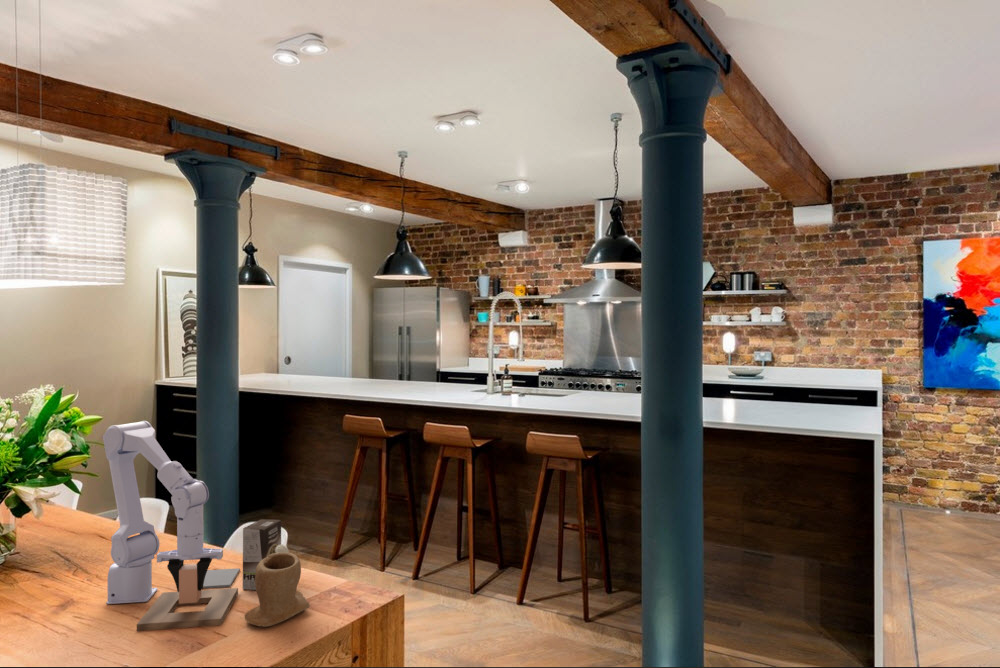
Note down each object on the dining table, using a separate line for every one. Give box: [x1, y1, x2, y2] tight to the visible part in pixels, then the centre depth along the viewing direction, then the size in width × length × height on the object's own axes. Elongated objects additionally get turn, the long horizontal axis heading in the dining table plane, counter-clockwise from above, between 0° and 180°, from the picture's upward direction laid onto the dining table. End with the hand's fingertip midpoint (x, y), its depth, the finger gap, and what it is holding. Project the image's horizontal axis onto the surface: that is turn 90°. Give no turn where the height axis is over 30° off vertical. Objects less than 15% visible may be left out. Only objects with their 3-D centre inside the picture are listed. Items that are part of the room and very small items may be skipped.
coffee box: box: [242, 518, 282, 591], centre depth 178 cm, size 9×6×16 cm
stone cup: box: [244, 552, 310, 628], centre depth 158 cm, size 15×12×15 cm
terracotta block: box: [179, 563, 201, 604], centre depth 161 cm, size 4×4×8 cm
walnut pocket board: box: [136, 587, 239, 632], centre depth 161 cm, size 18×18×2 cm
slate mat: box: [203, 567, 241, 589], centre depth 181 cm, size 12×12×1 cm
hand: (190, 589), depth 161 cm, fingers closed on terracotta block, 4 cm apart
